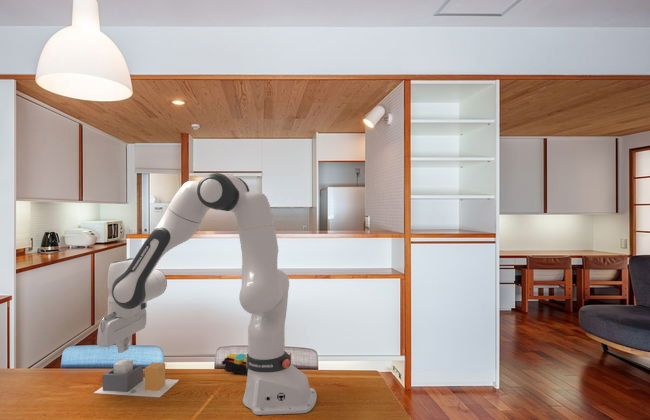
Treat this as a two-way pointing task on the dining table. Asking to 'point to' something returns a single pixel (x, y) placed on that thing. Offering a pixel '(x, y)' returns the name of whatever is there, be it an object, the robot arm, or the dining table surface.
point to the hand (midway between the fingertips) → (123, 351)
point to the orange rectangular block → (154, 376)
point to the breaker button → (123, 367)
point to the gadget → (236, 363)
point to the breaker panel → (131, 384)
